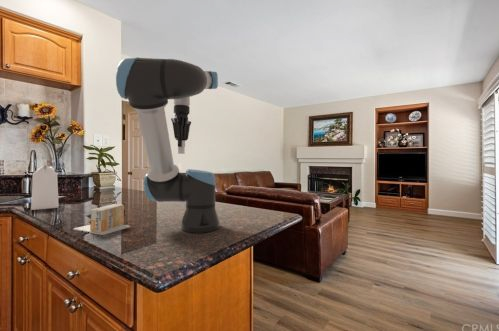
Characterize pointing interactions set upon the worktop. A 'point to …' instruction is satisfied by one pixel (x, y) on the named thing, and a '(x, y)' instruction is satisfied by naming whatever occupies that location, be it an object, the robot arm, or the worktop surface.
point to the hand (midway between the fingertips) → (181, 153)
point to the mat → (117, 228)
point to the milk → (44, 188)
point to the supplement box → (106, 217)
